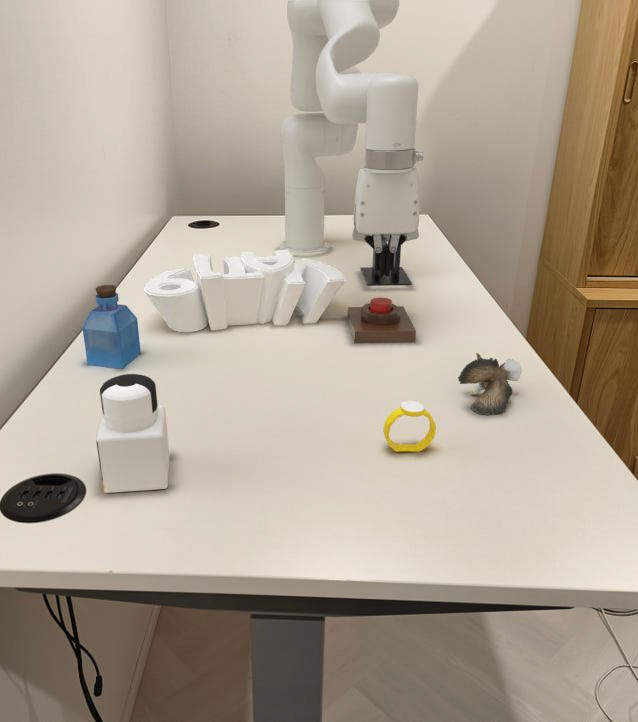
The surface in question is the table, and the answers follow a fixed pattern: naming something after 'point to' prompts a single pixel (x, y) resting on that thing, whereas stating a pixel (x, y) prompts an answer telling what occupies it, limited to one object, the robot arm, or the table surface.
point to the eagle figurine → (490, 383)
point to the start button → (380, 305)
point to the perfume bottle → (110, 331)
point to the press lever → (384, 240)
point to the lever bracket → (395, 276)
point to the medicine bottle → (132, 436)
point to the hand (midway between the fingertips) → (383, 274)
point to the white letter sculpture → (244, 291)
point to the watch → (414, 411)
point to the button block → (381, 325)
